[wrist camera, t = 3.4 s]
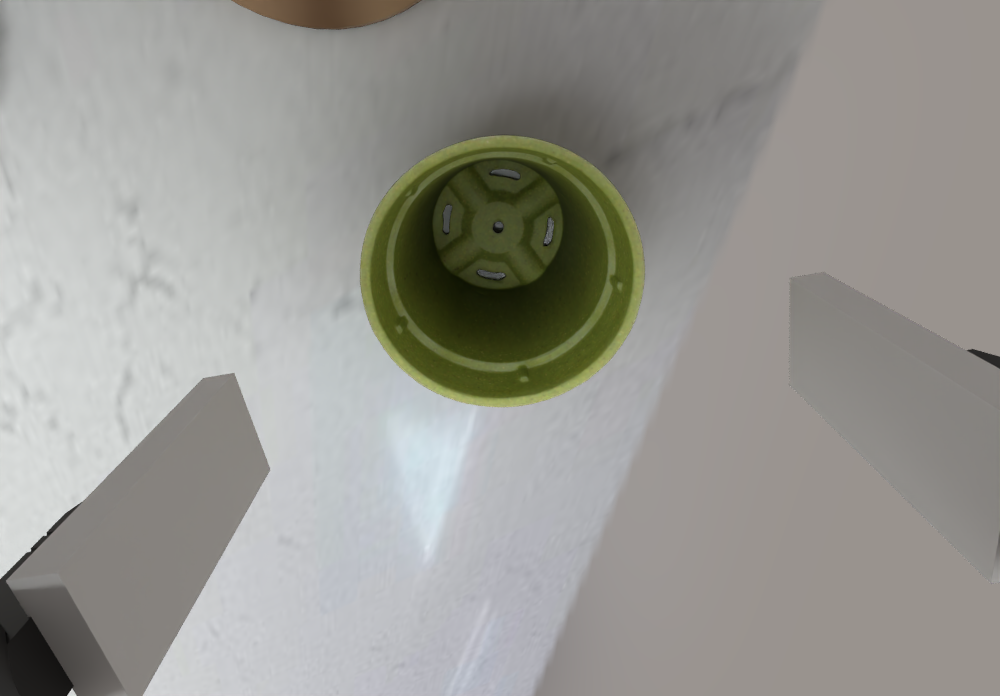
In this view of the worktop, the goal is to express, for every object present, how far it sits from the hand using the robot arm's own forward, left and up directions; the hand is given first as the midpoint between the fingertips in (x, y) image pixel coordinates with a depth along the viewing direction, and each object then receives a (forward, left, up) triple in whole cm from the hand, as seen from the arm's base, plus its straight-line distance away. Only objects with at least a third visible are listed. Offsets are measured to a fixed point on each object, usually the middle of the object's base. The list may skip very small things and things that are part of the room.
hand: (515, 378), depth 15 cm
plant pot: (0, 0, -15) cm, 15 cm away
